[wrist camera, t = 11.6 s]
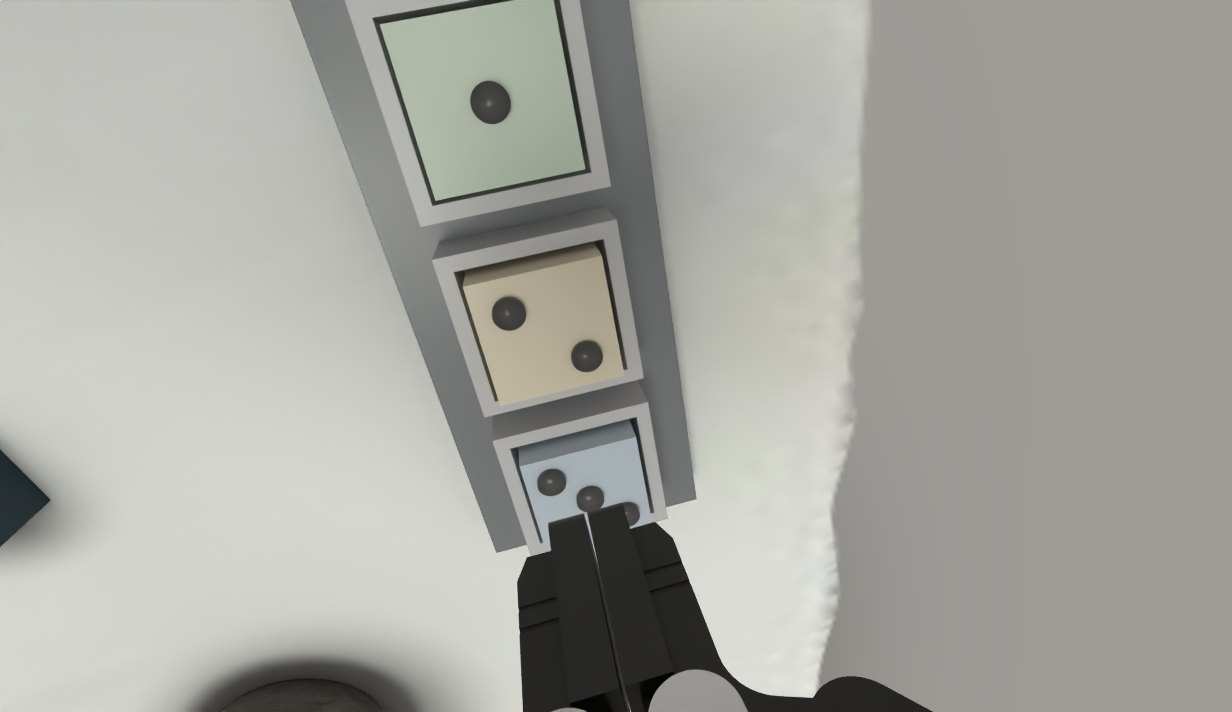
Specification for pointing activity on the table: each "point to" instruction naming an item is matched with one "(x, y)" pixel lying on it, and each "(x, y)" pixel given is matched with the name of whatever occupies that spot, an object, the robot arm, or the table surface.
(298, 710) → the planter
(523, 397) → the button two
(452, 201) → the keypad
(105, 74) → the table surface
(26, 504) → the watch
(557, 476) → the button three
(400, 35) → the button one
